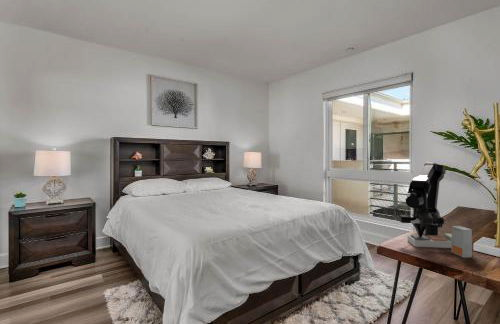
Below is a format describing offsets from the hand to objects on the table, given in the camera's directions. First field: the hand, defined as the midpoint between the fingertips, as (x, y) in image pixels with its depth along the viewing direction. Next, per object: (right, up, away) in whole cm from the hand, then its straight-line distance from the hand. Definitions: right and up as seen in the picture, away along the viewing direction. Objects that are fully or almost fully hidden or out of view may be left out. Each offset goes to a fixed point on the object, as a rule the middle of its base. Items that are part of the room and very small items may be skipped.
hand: (420, 236), depth 126 cm
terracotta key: (+7, -2, -1) cm, 8 cm away
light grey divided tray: (+7, -4, -1) cm, 8 cm away
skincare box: (+8, -4, -14) cm, 17 cm away
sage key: (+15, -1, -3) cm, 15 cm away
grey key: (0, -3, 0) cm, 2 cm away
